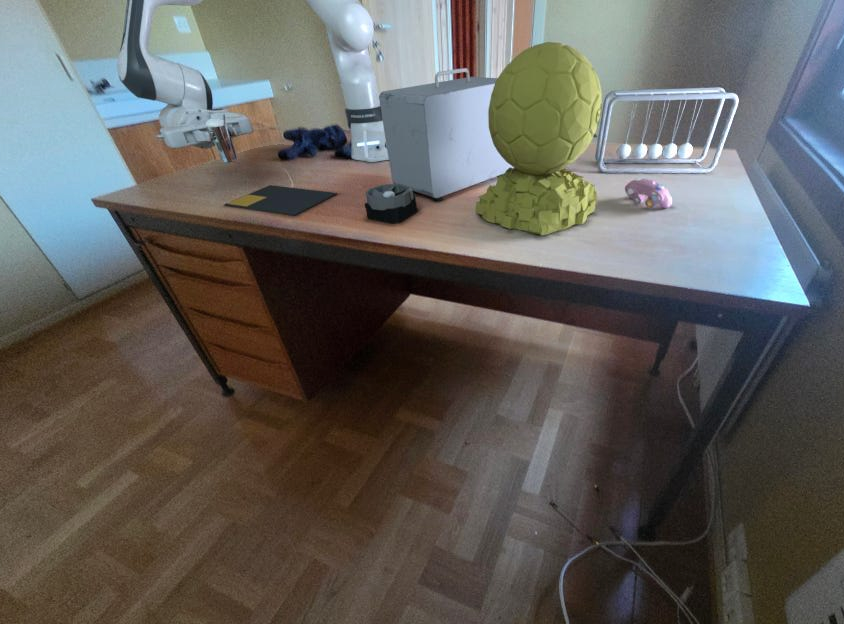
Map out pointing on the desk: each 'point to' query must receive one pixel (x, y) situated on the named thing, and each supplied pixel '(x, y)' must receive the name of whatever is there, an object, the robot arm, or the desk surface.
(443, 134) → the vintage electronic device
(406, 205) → the cpu cooler
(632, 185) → the video game controller
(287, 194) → the desk mat
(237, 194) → the desk surface
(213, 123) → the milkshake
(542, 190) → the trophy
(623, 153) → the newton's cradle
